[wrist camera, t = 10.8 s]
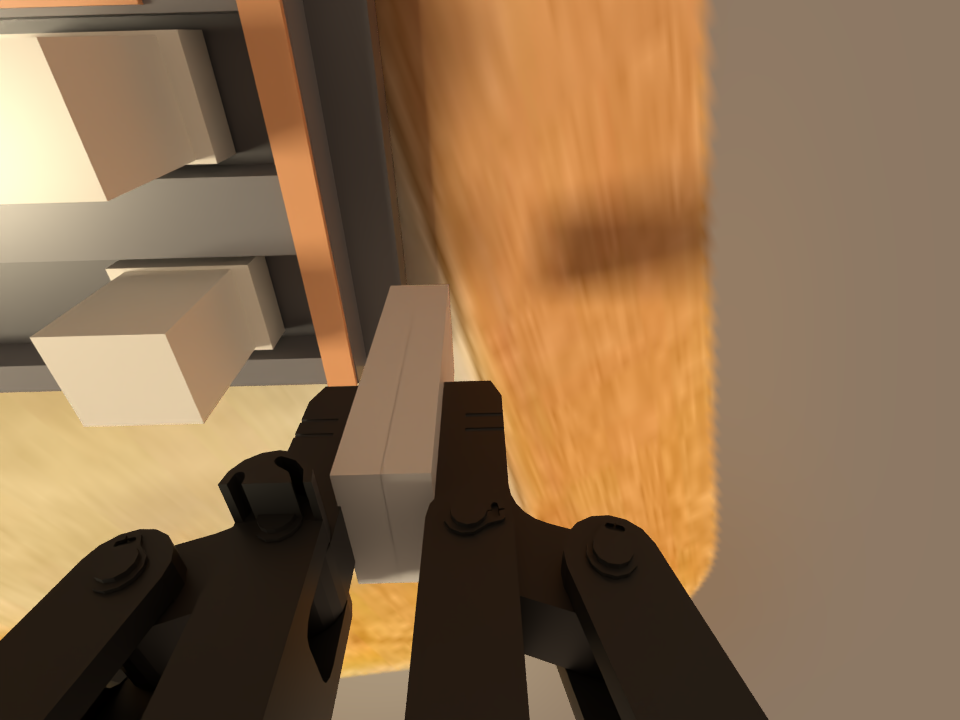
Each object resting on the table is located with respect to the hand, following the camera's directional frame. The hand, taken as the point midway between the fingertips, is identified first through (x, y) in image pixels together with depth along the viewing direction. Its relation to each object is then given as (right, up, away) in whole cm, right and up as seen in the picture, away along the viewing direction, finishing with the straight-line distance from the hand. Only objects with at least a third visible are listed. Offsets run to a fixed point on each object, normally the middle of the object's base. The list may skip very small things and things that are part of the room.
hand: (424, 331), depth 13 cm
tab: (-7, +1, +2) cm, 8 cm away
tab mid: (-7, +6, -1) cm, 9 cm away
